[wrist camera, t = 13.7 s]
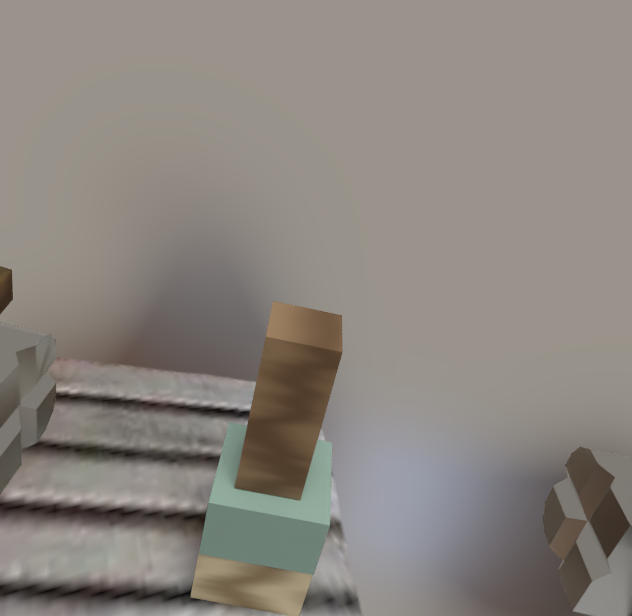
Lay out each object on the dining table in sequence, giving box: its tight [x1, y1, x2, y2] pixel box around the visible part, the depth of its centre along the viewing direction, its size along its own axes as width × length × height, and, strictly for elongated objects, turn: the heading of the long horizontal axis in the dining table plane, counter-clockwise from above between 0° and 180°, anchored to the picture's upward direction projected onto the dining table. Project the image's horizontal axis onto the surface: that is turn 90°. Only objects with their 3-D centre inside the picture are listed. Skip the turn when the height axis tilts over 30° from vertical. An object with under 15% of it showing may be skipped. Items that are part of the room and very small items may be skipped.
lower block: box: [191, 550, 313, 616], centre depth 45 cm, size 8×8×5 cm
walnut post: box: [235, 301, 342, 500], centre depth 39 cm, size 4×4×12 cm
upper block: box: [199, 422, 332, 575], centre depth 43 cm, size 8×8×5 cm
